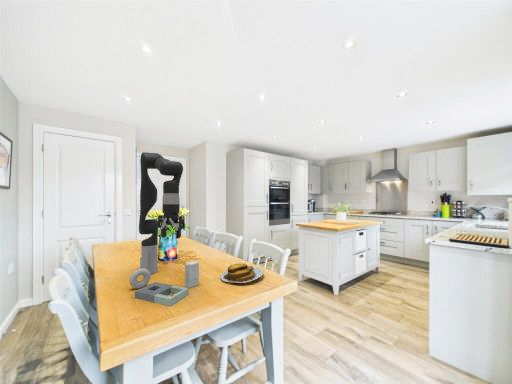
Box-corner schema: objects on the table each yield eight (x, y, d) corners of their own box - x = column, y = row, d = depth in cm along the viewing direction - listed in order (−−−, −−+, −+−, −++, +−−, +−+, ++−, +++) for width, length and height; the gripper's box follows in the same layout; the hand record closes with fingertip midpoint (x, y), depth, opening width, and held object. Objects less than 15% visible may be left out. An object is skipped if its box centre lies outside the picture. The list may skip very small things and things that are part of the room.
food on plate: (259, 288, 111) (259, 275, 111) (213, 285, 116) (213, 272, 116) (265, 271, 136) (265, 260, 136) (228, 269, 141) (228, 259, 141)
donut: (130, 292, 107) (130, 271, 107) (128, 289, 109) (128, 270, 110) (151, 286, 114) (151, 267, 114) (149, 284, 116) (149, 265, 117)
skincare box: (194, 282, 118) (194, 260, 118) (199, 285, 115) (199, 262, 115) (184, 286, 113) (184, 263, 113) (189, 288, 110) (189, 265, 110)
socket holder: (134, 297, 101) (134, 291, 101) (155, 287, 112) (155, 281, 112) (170, 306, 92) (170, 299, 93) (188, 294, 104) (188, 288, 104)
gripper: (153, 203, 100) (153, 238, 100) (177, 203, 95) (177, 240, 95) (165, 202, 107) (165, 235, 107) (188, 203, 102) (188, 237, 101)
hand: (171, 237), depth 101 cm, fingers open, 8 cm apart
